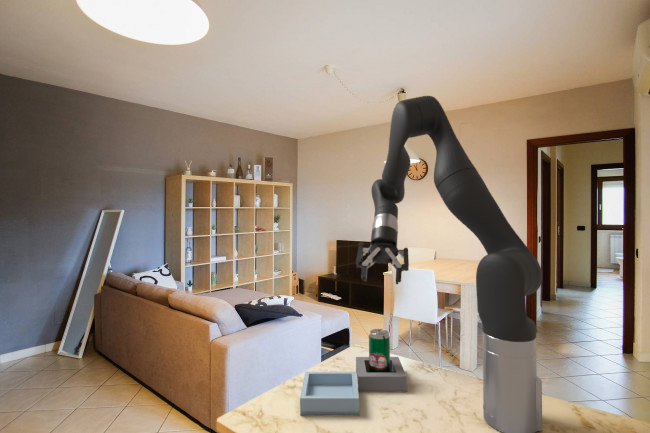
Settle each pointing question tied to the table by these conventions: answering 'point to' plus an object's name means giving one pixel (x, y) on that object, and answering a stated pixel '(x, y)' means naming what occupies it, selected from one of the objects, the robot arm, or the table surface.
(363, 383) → the socket block
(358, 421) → the table surface
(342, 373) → the parts tray
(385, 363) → the soda can
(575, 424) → the table surface
